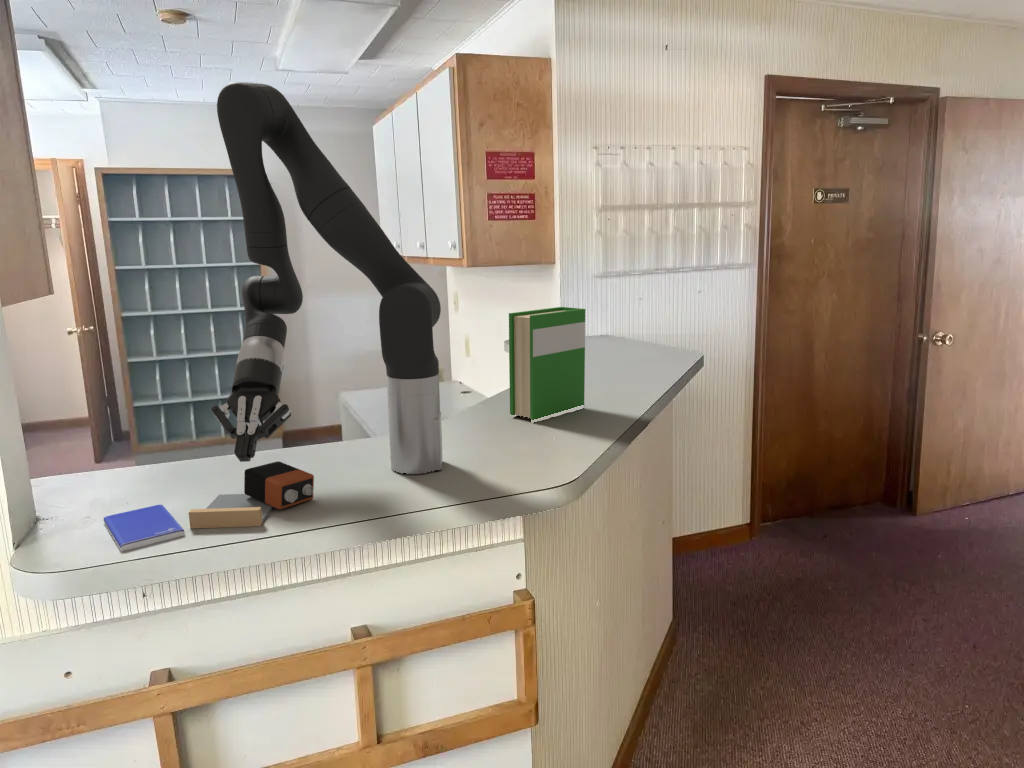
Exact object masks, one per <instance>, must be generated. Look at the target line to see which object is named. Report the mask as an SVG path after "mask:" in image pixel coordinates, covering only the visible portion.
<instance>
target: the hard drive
mask: <svg viewBox="0 0 1024 768" xmlns="http://www.w3.org/2000/svg"><path fill="white" fill-rule="evenodd" d="M172 515H173V514H171V513H170V512H169V511H168V510H167V508H166V507H165V506H164V505H163V504H154V505H150V506H145V507H142V508H138V509H133V510H129V511H125V512H123V511H122V512H119V513H115V514H110V515H106V516H105V517H103V523H105V524H106V526H107V527H106V526H105V527H106V529H107V528H108V529H107V531H108V530H109V531H108V533H109V534H110V536H111V535H112V536H111V537H112V539H113V541H114V540H115V541H114V542H115V544H116V546H117V545H118V546H117V548H118V549H119V551H120V552H124V551H123V550H125V551H128V549H129V550H132V549H137V548H141V547H143V546H144V547H145V546H149V545H153V544H156V543H159V542H164V541H167V540H171V539H175V538H178V537H182V536H185V535H186V533H185V530H184V528H183V526H181V524H180V523H179V522H178V521H177V520H176V519H175V518H174V516H172ZM105 524H104V525H105ZM155 542H156V543H155Z"/></svg>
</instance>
